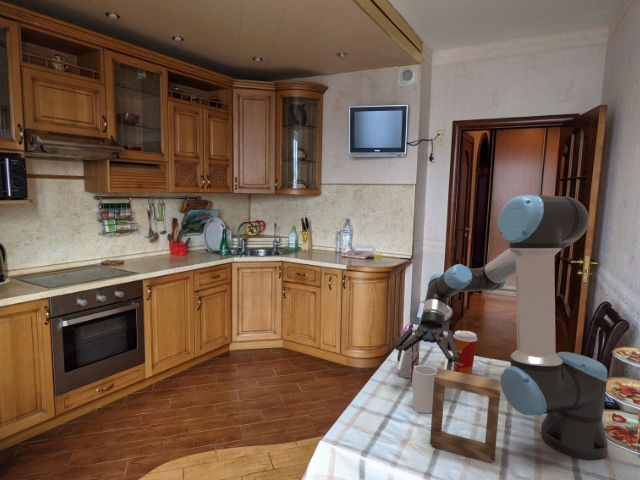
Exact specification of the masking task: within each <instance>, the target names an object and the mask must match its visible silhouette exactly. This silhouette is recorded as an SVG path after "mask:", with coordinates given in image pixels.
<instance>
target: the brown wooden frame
mask: <svg viewBox="0 0 640 480" xmlns="http://www.w3.org/2000/svg"><path fill="white" fill-rule="evenodd" d="M436 370H437V372H436V375H435V377H434V389H433V404H432V412H431V419H430V420H431V423H430V434H429V435H430V439H429V444H430V445H431V448H435V449H438V450H442V451H445V452H449V453H452V454H457V455H460V456H463V457H467V458H471V459H475V460H477V461H481V462H485V463H488V464H492V462H495V459H496V458H495V457H496V447H497V437H498V436H497V435H498V424H499V412H500V402H501V401H500V400H501V390H502V388H501V381H500V380H498V379H493V378H489V377H485V376H480V375H475V374H472V375H470V374H465V373H460V372H455V371H454V370H451V371H450V370H445V369H444V368H439V367H438V368H437V369H436ZM445 388H449V389H454V390H459V391H463V392H467V393H472V394H476V395H480V396H486V397H488V403H487V415H486V427H485V428H486V429H485V439H484V442H481V441H478V440H475V439H471V438H466V437H462V436H460V435H454V434H451V433H448V432H443V431H442V430H443V420H444V419H443V417H444V401H445V390H446V389H445Z"/></svg>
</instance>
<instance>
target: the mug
mask: <svg viewBox="0 0 640 480" xmlns="http://www.w3.org/2000/svg"><path fill="white" fill-rule="evenodd" d="M437 370H438V369H437V368H434V367H433V366H429V365H423V364H422V365H421V364H419V366H414V370H413V374H412V379H411V381H412V382H411V385H412V408H413V409H414V410H415V411H416V412H418V413H423V414H430V413H431V414H432V404H433V389H434V377H435V375H436V372H437Z"/></svg>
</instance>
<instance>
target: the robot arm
mask: <svg viewBox="0 0 640 480" xmlns="http://www.w3.org/2000/svg"><path fill="white" fill-rule="evenodd" d="M589 221H590V218H589V212H588V211H587V209H586V207H585V205H584V204H582V202H580V201H579V200H577V199H575V198H573V197H570V196H565V195H564V196H563V195H562V196H561V195H558V196H557V195H540V194H539V195H538V194H527V195H518V196H515V197H513V198H511V199H510V200H508V201H507V202H506V204H505V205H504V206H503V207H502V209H501V211H500V213H499V218H498V230H499V233H500V235H501V237H502V238H503V239H504V240H505V241H506V242H508V245H509V246H508V248H507V249H506V250H504V251H503V252H502V253H501V254H499V255H498V256H496V257H495V258H494V259H492V260H491V261H489V262H488V263H486V264H485V265H484V266H482V267H479V268H468V267H467V266H466V265H463V264H461V263H458V264H454V265H453V266H451V267H449V268H447V270H445V271H444V273H437V274H433V275H431V277H430V278H429V282H428V284H427V290H426V296H425V299H424V300H425V301H424V304H423V309H422V313H421V317H420V321H419V324H418V325H419V326H418V327H416V326H413V324H414V323H409V324H410V325H409V328H408V330H407V331H406V332H405V333H404V334H403V335H402V337H401V338H400V337H399V338H398V340H397V341H396V342H395V343H394V345H393V346H394V349H395V350H396V351H398V353H397V356H396V357H397V362H398V366H397V367H398V368H397V371H398V374H399V373H401V372H402V368H403V364H404V359H405V355H406V354H405V351H406V350H408V349H409V348H411V347H412V346H413V345H415V344H416V343H418V342H422V341H423V342H425V343H431V344H434V343H436V344H437V345H438V347H439V349H440V350H441V352H442V353H443V354H444V357H445V360H444V364H443V365H444V366H443V369H445V370H450V371H452V367H453V364H454V362H459V356H458V353H457V351H456V348H455V345H454V339H453V332H452V330H450V329H449V330H448V331H444V324H445V320H446V319H445V318H446V315H447V314H446V313H447V310H448V309H447V308H448V303H449V300H450V299H451V297H453V296H454V295H456V294H457V293H461V292H464V293H465V292H479V291H480V292H481V291H482V292H483V291H489V292H490V291H491V292H493V291H495V290H501V289H503V288H504V287H505V284H506V283H507V280H508V279H510V278H512V277H513V276H514V275H515V281H516V282H515V284H516V285H515V291H516V292H515V294H516V297H515V298H516V349H515V351H513V352H512V353H511V354H510V366H507V367H506V368H504V369H503V371H502V372H501V374H500V381H501V390H502V393H503V395H504V397H505V399H506V400H507V402H508V404H509V405H510V407H512V408H513V409H514V410H515V411H516V412H517V413H520V414H522V415H524V416H543V415H545V417H544V419H543V420H542V423H541V425H540V431H539V432H540V437H541V438H542V440H543V441H544V442H545V443H546V444H547V445H549V446H550V447H551V448H552V449H554V450H556V451H559V452H560V453H563V454H564V455H568V456H571V457H574V458H577V459H578V458H579V459H583V460H591V461H592V460H601V459H603V458H605V457H606V456H607V454H608V446H609V443H608V439H607V435H606V432H605V428H604V424H603V415H604V408H605V401H606V400H605V399H606V391H607V385H608V369H607V367H606V366H605V365H604V364H603V363H602V362H600V361H598V360H595V359H594V358H591V357H589V356H585V355H583V354H578V353H574V352H570V351H569V352H568V351H559V352H556V300H555V299H556V295H555V292H556V291H555V289H556V288H555V278H556V277H555V256H556V255H557V254H558V253H559V252H560V251H561V250H563V249H566V248H567V247H569V246H571V245H572V244H573V243H575V242H577V241H578V240H579V239H580V238H581V237H583V235H584V234H585V232H586V231H587V230H588V227H589ZM415 331H418V334H416V335H415V336H414V337H413V338H412V339H410V340H409V341H407V339H408V338H409V337H410V336H411V335H412V333H414V332H415ZM442 337H445V339H447V341H448V344H449V347H450V351H451V353H452V355H451V353H450V352H449V350H448V348H447V347H446V345H445V344H444V343H443V341H442V339H441V338H442ZM406 341H407V342H406ZM405 342H406V343H405ZM404 343H405V344H404ZM605 455H606V456H605ZM604 456H605V457H604Z"/></svg>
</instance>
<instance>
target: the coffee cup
mask: <svg viewBox="0 0 640 480" xmlns="http://www.w3.org/2000/svg"><path fill="white" fill-rule="evenodd" d="M452 338H453V342H454V345H455V348H456V351H457V353H458V356H459V362H453V371H455V372H460V373H465V374H470V375H473V369H474V368H473V367H474V361H475V353H476V346H477V341H478V339H479V338H478V337H477V334H476V333H475V332H473V331H468V330H456V331H455V332H454V334H452Z"/></svg>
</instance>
